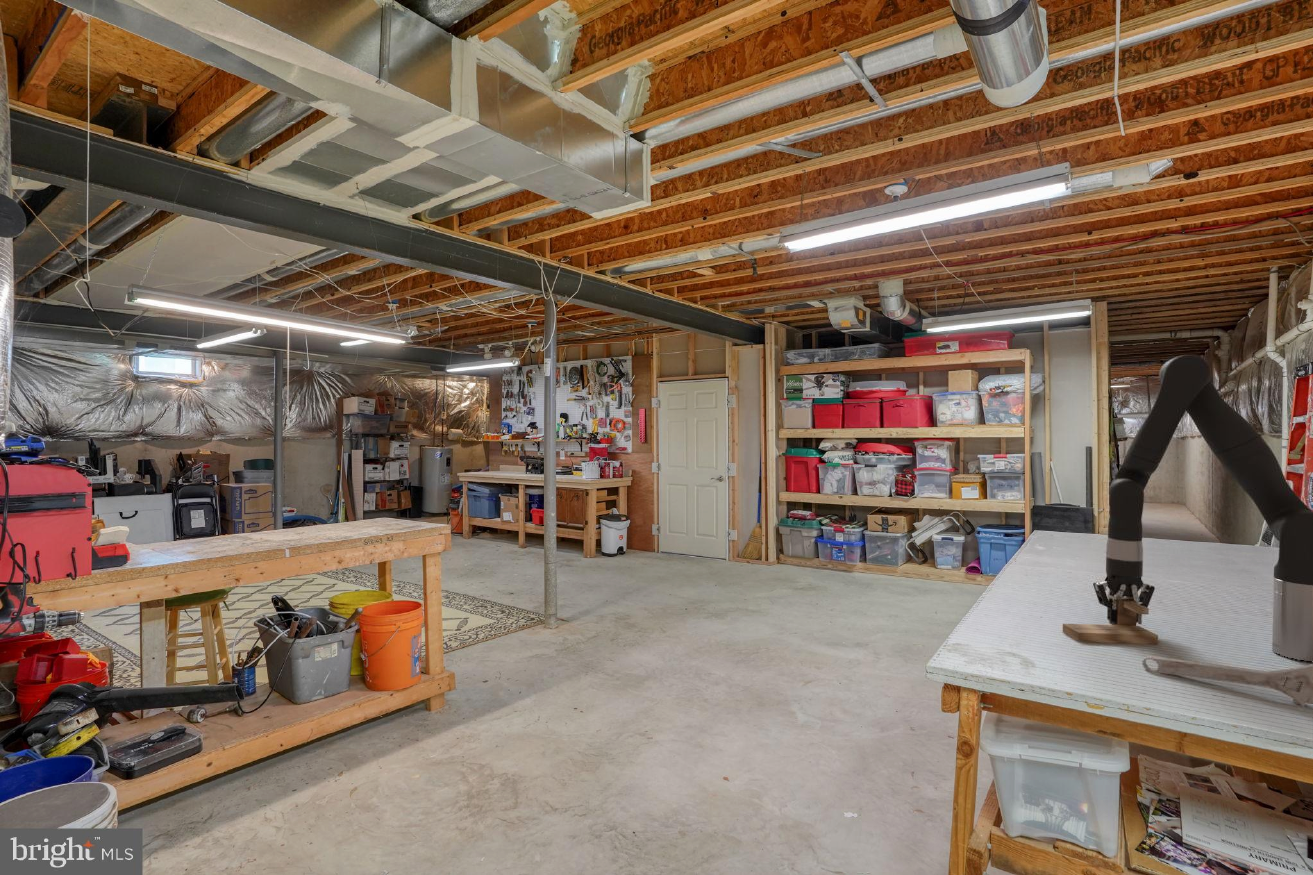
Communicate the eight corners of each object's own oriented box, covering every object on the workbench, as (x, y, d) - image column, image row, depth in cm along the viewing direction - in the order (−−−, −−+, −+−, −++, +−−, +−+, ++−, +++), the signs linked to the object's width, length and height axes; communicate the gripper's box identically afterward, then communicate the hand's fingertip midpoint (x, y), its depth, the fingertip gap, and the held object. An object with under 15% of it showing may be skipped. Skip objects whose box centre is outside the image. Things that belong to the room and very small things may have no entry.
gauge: (1125, 623, 162) (1126, 597, 162) (1152, 637, 152) (1153, 608, 152) (1109, 623, 162) (1109, 596, 162) (1134, 636, 152) (1135, 607, 152)
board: (1138, 634, 157) (1138, 625, 157) (1157, 644, 150) (1158, 634, 150) (1062, 632, 159) (1062, 623, 159) (1078, 641, 152) (1078, 632, 152)
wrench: (1146, 681, 136) (1351, 712, 114) (1144, 683, 135) (1351, 715, 113) (1141, 643, 137) (1345, 666, 114) (1139, 645, 135) (1345, 669, 113)
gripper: (1103, 559, 157) (1102, 627, 157) (1164, 560, 155) (1163, 629, 156) (1086, 552, 164) (1084, 617, 165) (1144, 554, 163) (1142, 619, 163)
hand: (1122, 623), depth 160 cm, fingers closed on gauge, 4 cm apart
